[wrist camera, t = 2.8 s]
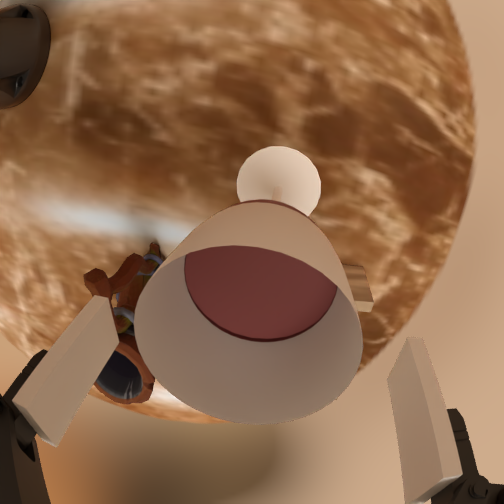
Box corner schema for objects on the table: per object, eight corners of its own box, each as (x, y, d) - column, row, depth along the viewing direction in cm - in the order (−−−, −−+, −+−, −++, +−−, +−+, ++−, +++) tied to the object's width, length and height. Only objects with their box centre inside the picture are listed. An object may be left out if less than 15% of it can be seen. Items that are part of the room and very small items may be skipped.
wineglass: (230, 225, 35) (149, 402, 15) (238, 134, 30) (120, 226, 10) (314, 238, 34) (323, 433, 14) (331, 147, 29) (400, 269, 9)
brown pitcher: (114, 206, 36) (35, 269, 23) (204, 219, 35) (151, 300, 22) (126, 320, 44) (79, 395, 31) (200, 337, 44) (167, 425, 31)
